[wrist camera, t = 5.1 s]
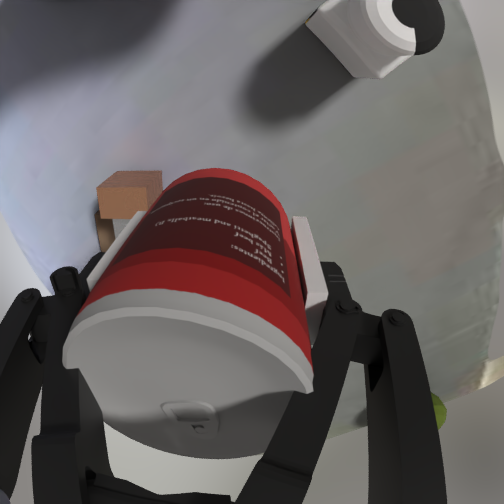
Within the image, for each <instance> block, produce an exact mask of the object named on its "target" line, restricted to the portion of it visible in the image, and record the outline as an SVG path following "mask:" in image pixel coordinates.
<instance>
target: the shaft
mask: <svg viewBox="0 0 504 504" xmlns="http://www.w3.org/2000/svg"><path fill="white" fill-rule="evenodd" d="M96 189H97V196H98V203H99V210H100V216H101V219H113V226H114V232H115V238H117V237H118V236H119V234H120V233H121V232H122V230H123V229H124V228H125V227H126V225H127V224H128V223H129V221H130V220H131V219H132V218H133V216H134V215H135V214H136V213H137V211H148V210H149V209H150V207H151V206H152V205H153V203H154V202H155V201H156V199H157V198H158V197H159V196H160V194H161V193H162V192H163V187H162V171H117V172H115V173H114V174H113V175H112V176H110V177H109V178H108V179H106V180H105V181H104V182H103V183H102V184H100V185H99V186H98V187H97V188H96Z"/></svg>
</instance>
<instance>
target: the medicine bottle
mask: <svg viewBox="0 0 504 504" xmlns="http://www.w3.org/2000/svg"><path fill="white" fill-rule="evenodd" d="M305 24H306V26H307V27H308V28H309V29H310V30H311V31H312V32H313V33H314V34H315V35H316V36H317V37H318V38H319V39H320V40H321V41H322V42H323V43H324V45H325V46H326V47H327V48H328V49H329V50H330V51H331V52H332V53H333V54H334V55H335V57H336V58H337V59H338V60H339V61H340V62H341V63H342V64H343V66H344V67H345V68H346V69H347V70H348V71H349V73H350V74H351V75H352V76H353V77H355V78H370V79H382V78H383V77H384V76H386V75H387V74H388V73H389V72H391V71H392V70H393V69H395V68H396V67H397V66H399V65H400V64H401V63H403V62H404V61H405V60H406V59H408V58H409V57H410V56H412V55H421V54H425V53H427V52H430V51H431V50H433V49H434V48H435V47H436V46H437V45H438V44H439V43H440V41H441V39H442V37H443V34H444V28H445V21H444V15H443V11H442V8H441V6H440V4H439V2H438V0H328V1H326V2H325V3H324V4H322V5H321V6H319V7H318V8H317V9H316V11H315V12H314V13H313V14H312V15H311V16H310V17H309V18H308V20H307V21H306V22H305Z"/></svg>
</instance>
